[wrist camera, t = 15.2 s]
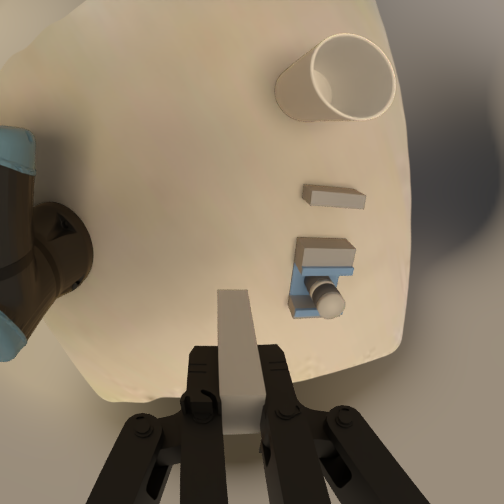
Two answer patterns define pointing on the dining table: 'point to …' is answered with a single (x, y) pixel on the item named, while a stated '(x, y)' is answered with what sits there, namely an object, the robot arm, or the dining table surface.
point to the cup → (338, 82)
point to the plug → (325, 296)
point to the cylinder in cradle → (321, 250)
